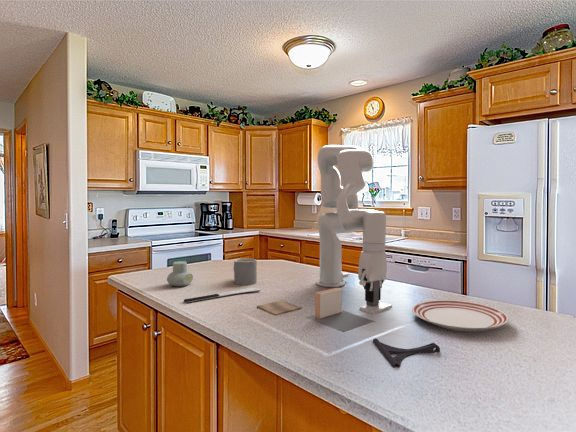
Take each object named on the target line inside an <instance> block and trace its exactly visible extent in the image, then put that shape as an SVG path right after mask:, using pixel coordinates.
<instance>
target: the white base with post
mask: <svg viewBox="0 0 576 432" xmlns="http://www.w3.org/2000/svg"><path fill="white" fill-rule="evenodd" d="M368 284H370V283H368ZM372 291H374V301H373V302H372V303H371V302H368V301H365V304H364V305H360V306H359V310H361V311H362V312H366V313H369V314H372V315H375V314H379V313H381V312H385V311H387V310H391V309H393V304H389V303H386V302H382V301H381V300H379V280H378V281H374V282H373V290H372Z"/></svg>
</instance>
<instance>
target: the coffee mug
mask: <svg viewBox="0 0 576 432" xmlns="http://www.w3.org/2000/svg"><path fill="white" fill-rule="evenodd" d="M233 273H234V277H233V278H234V279H233V280H234V281H233V282H234V284H235V285H238V286H250V285H254V284H256V283H257V280H258V277H257V259H255V258H248V257H247V258H245V257H244V258H235V259H234V260H233Z"/></svg>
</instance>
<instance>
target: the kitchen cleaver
mask: <svg viewBox="0 0 576 432" xmlns="http://www.w3.org/2000/svg"><path fill="white" fill-rule="evenodd" d="M258 291H261V289H260V288H257V287H247V288H241V289H237V290H232V291H231V290H229V291H225V292H219V293H214V294H208V295H203V296H197V297H196V296H195V297H190V298H185V299H183V303H184V304H186V303H187V304H192V302H193V303H197V302H205V301H209V300H215V299H218V298H219V299H220V297H225V296H230V295H231V296H232V295H236V294H237V295H238V294H245V293H249V292H250V293H251V292H258Z"/></svg>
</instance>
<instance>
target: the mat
mask: <svg viewBox="0 0 576 432" xmlns="http://www.w3.org/2000/svg"><path fill="white" fill-rule="evenodd" d="M307 318H308V319H309V320H312V321H315V322H316V323H319V324H322V325H325V326H327V327H330V328H332V329H335V330H337V331H340V332H341V333H345V332H348V331H350V330H355V329H357V328H360V327H363V326H365V325H368V324H371V323H374V322H375V320H373V319H370V318H366V317H364V316H361V315H357V314H354V313H352V312H348V311H346V310H343V309H342V313H339V314H335V315H332V316H328V317H325V318H322V319H318V318H315V314H312V315H310V316H309V315H308V316H306V319H307Z"/></svg>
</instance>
